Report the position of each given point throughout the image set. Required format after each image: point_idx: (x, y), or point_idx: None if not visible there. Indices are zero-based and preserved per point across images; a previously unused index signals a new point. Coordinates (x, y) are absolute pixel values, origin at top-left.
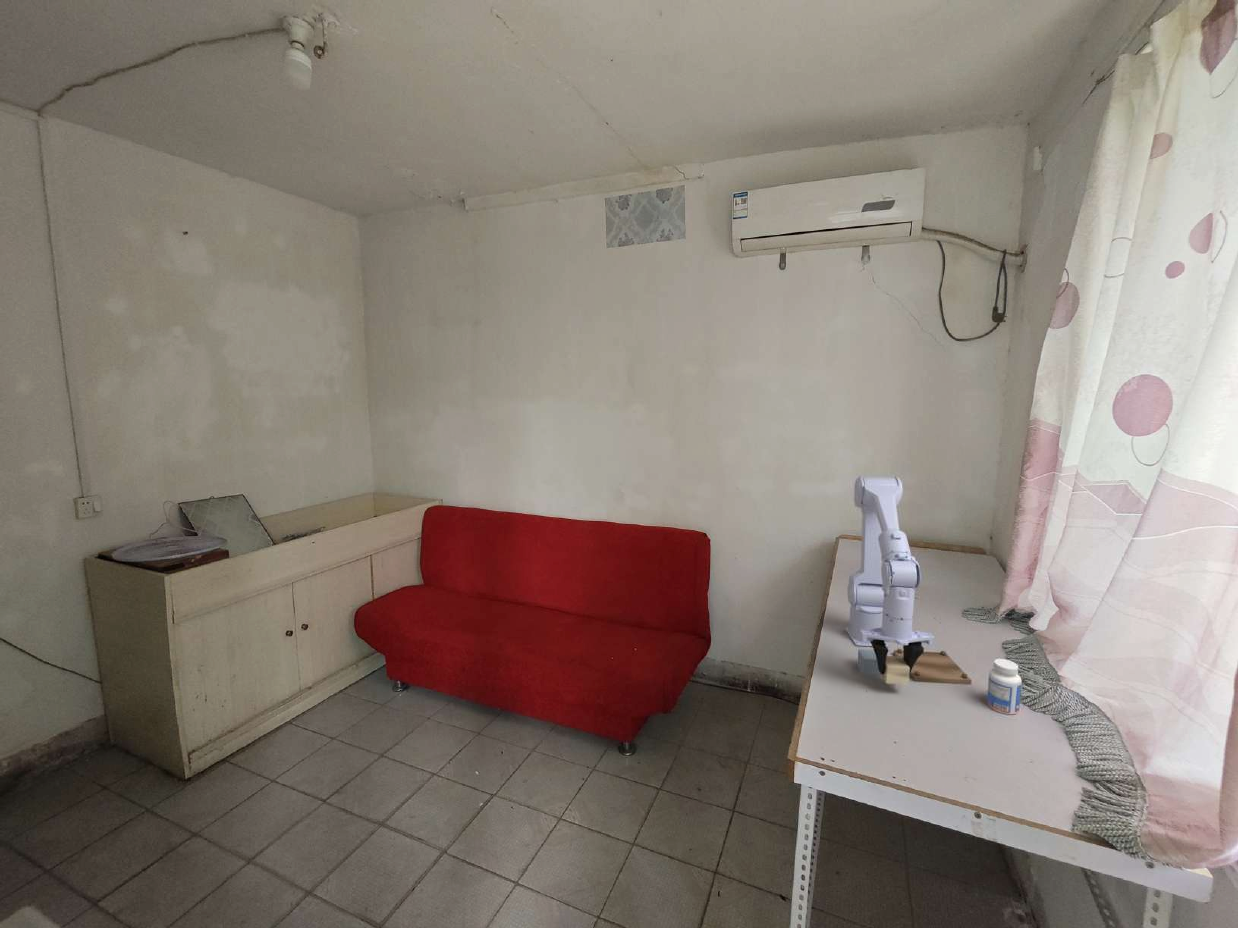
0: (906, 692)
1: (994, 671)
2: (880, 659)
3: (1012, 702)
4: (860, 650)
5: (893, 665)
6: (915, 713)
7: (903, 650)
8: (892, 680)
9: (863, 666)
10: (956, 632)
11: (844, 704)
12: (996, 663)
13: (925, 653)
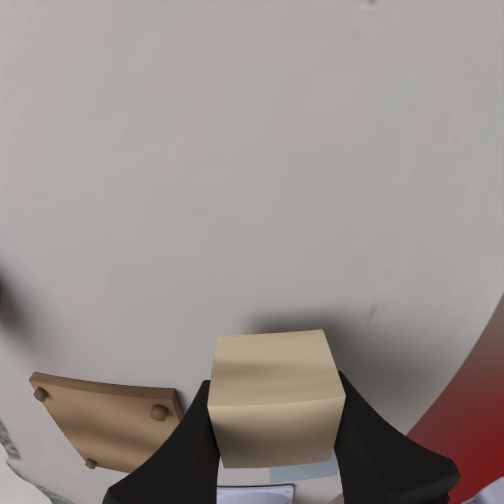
0: (218, 328)
1: None
2: (389, 425)
3: None
4: (333, 472)
5: (301, 411)
6: (227, 184)
7: (216, 497)
8: (297, 342)
9: None
10: (79, 490)
11: (473, 211)
12: None
13: (128, 469)
